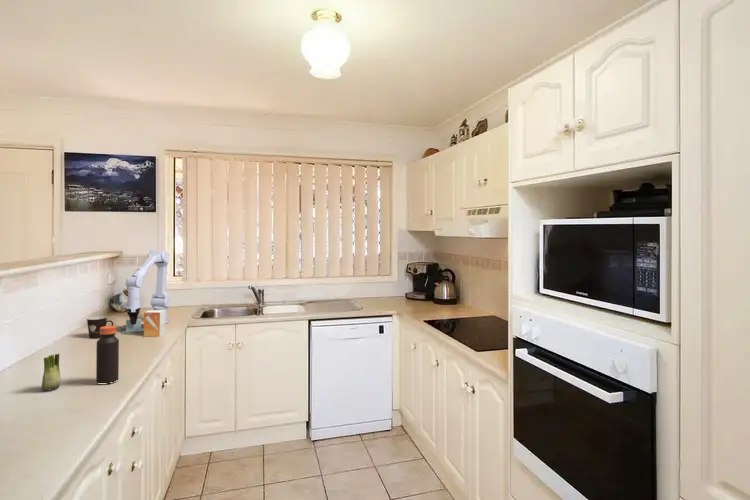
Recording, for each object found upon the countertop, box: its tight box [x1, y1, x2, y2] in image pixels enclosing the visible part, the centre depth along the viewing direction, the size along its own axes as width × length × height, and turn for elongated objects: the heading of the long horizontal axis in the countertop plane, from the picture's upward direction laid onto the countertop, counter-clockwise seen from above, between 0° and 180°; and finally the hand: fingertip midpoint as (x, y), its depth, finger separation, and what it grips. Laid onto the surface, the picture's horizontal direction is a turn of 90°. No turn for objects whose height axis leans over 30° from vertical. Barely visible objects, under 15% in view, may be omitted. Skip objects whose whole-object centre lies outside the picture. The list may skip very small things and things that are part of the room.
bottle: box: [95, 325, 120, 384], centre depth 147 cm, size 7×7×20 cm
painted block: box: [125, 318, 142, 332], centre depth 223 cm, size 4×7×6 cm, turn 118°
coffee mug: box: [86, 315, 114, 340], centre depth 208 cm, size 12×9×10 cm
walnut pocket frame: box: [121, 323, 144, 331], centre depth 231 cm, size 9×12×1 cm
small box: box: [143, 309, 165, 338], centre depth 215 cm, size 8×6×13 cm
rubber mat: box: [121, 328, 144, 335], centre depth 223 cm, size 8×11×1 cm
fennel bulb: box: [41, 352, 62, 391], centre depth 139 cm, size 6×5×12 cm
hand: (133, 323), depth 223 cm, fingers open, 7 cm apart
